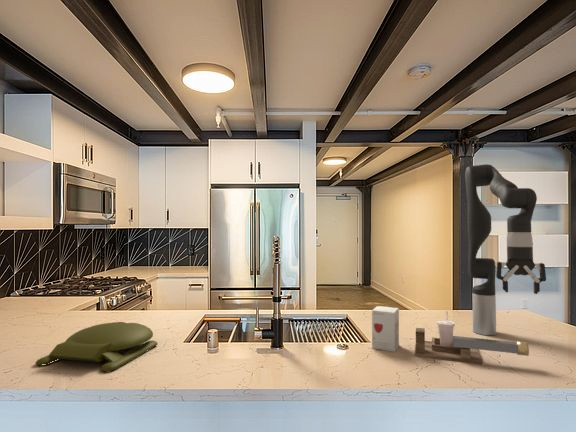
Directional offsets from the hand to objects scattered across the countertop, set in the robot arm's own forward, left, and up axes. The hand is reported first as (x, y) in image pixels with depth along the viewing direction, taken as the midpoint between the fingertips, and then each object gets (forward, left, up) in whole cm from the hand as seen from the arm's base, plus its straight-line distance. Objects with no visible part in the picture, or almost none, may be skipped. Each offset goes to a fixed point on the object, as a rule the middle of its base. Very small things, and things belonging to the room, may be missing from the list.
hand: (520, 292), depth 123 cm
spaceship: (+42, -144, -25) cm, 152 cm away
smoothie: (-7, -24, -24) cm, 34 cm away
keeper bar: (+1, -10, -21) cm, 23 cm away
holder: (-5, -24, -25) cm, 34 cm away
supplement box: (-3, -46, -25) cm, 52 cm away
